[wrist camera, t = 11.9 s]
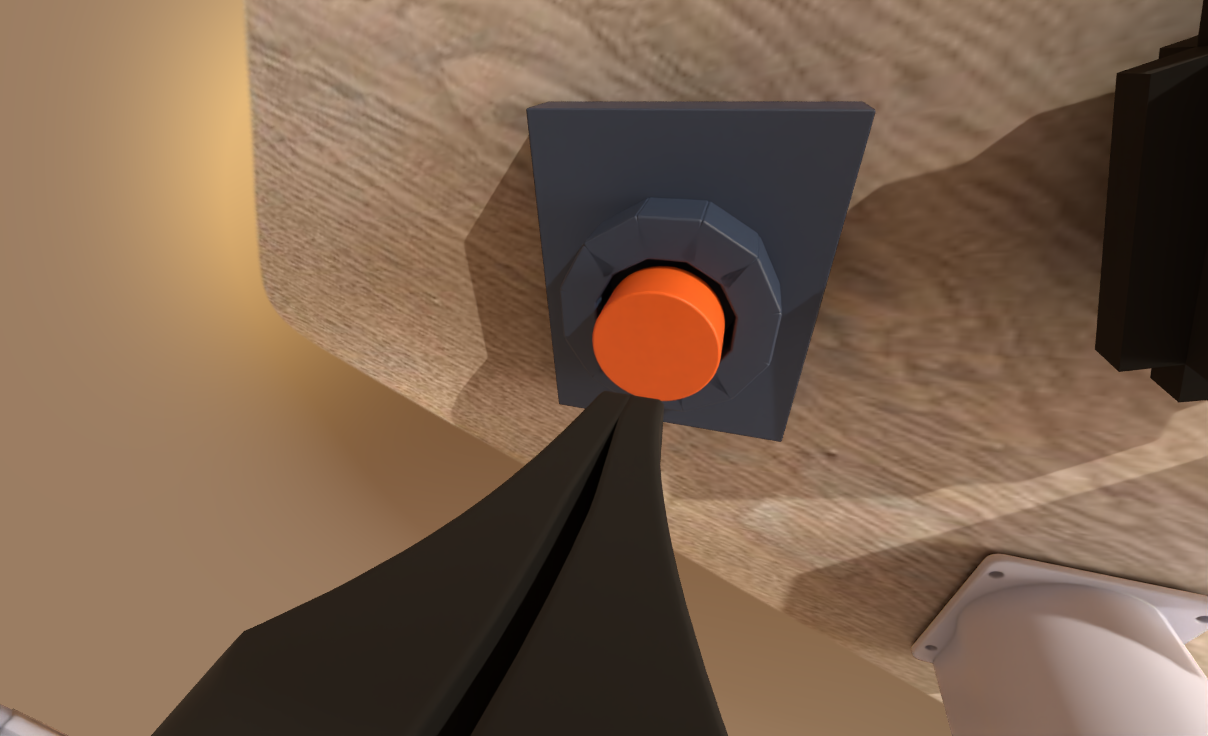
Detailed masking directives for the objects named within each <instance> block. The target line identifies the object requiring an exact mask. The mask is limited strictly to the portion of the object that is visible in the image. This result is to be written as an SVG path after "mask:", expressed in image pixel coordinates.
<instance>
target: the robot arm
mask: <svg viewBox="0 0 1208 736" xmlns="http://www.w3.org/2000/svg"><path fill="white" fill-rule="evenodd" d="M663 415H664V404H663V403H662V402H661V401H660V400H659V399H653V398H647V397H641V396H634V395H628V394H622V393H616V392H610V391H603V392H602V393H600V394H599V395H598V396H597V397H596V398H595V399H594V400H593V401H592V402H591V403H590V405H589V406H588V407H587V408H586V409H585V410H584V411H583V412H582V413H581V414H580V415H579V416H578V417H577V418H576V419H575V420H574V421H573V422H572V423H571V424H570V425H569V426H568V427H567V428H566V429H565V430H564V431H563V432H562V433H561V434H559V435H558V436H557V437H556V438H555V439H554V440H553V441H552V442H551V443H550V444H549V445H548V446H547V447H546V448H544V449H543V450H542V451H541V452H540V453H539V454H538V455H537V456H536V457H534V458H533V459H532V460H531V461H530V462H528V463H527V464H526V465H525V466H524V467H523V468H521V469H520V470H519V471H518V472H517V473H515V474H514V475H513V476H512V477H511V478H509V479H508V480H507V481H506V482H504V483H503V484H502V485H501V486H499V487H498V488H497V489H495V490H494V491H493V492H492V493H491V494H489V495H488V496H486V497H485V498H484V499H482V500H481V501H479V502H478V503H477V504H475V505H474V506H473V507H471V508H470V509H468V510H467V511H465V512H464V513H463V514H461V515H460V516H458V517H457V518H455V519H454V520H452V521H451V522H449V523H447V524H446V525H444V526H443V527H441V528H440V529H438V530H437V531H435V532H434V533H432V534H431V535H429V536H428V537H426V538H424V539H423V540H421V541H419V542H418V543H416V544H414V545H413V546H411V547H409V548H408V549H406V550H404V551H403V552H401V553H399V554H397V555H396V556H394V557H392V558H390V559H389V560H387V561H385V562H383V563H381V564H379V565H378V566H376V567H374V568H372V569H370V570H368V571H367V572H365V573H363V574H361V575H359V576H358V577H356V578H354V579H352V580H350V581H348V582H347V583H345V584H343V585H341V586H339V587H337V588H335V589H333V590H331V591H329V592H327V593H325V594H323V595H321V596H319V597H317V598H314V599H312V600H311V601H308V602H306V603H304V604H302V605H300V606H297V607H295V608H293V609H291V610H289V611H287V612H285V613H283V614H281V615H279V616H276V617H274V618H272V619H270V620H268V621H266V622H264V623H262V624H259V625H257V626H255V627H253V628H250V629H248V630H246V631H244V632H243V633H242V634H241V635H240V636H239V637H238V638H237V639H236V640H235V641H234V642H233V644H232V645H231V646H230V647H229V648H228V649H227V650H226V651H225V652H224V653H223V655H222V656H221V657H220V658H219V659H218V660H217V661H216V663H215V664H214V665H213V666H212V667H211V668H210V669H209V670H208V672H207V673H206V674H205V675H204V676H203V677H202V678H201V680H200V681H199V682H198V683H197V684H196V685H195V686H194V687H193V689H192V690H191V691H190V692H189V693H188V694H187V695H186V696H185V698H184V699H183V700H182V701H181V702H180V703H179V705H178V706H177V707H176V708H175V709H174V710H173V711H172V713H170V715H169V716H168V717H167V718H166V719H165V720H164V721H163V723H162V724H161V725H160V726H159V727H158V728H157V729H156V731H155V732H154V733H153V734H152V735H151V736H728V734H727V731H726V728H725V725H724V723H723V720H722V717H721V714H720V711H719V708H718V706H717V702H716V699H715V696H714V693H713V690H712V687H711V684H710V681H709V678H708V675H707V672H706V669H705V666H704V663H703V659H702V656H701V653H700V649H699V646H698V642H697V639H696V636H695V633H694V629H693V626H692V623H691V619H690V616H689V612H688V609H687V606H686V602H685V598H684V594H683V590H682V586H681V582H680V578H679V574H678V570H677V566H676V561H675V557H674V553H673V548H672V543H671V538H670V533H669V528H668V523H667V517H666V510H665V504H664V497H663V490H662V481H661V470H660V460H661V445H662V430H663ZM1207 630H1208V596H1206V595H1202V594H1197V593H1192V592H1187V591H1182V590H1177V589H1172V588H1167V587H1162V586H1157V585H1153V584H1148V583H1143V582H1138V581H1133V580H1128V579H1123V578H1118V577H1113V576H1108V575H1104V574H1099V573H1094V572H1089V571H1084V570H1079V569H1074V568H1069V567H1064V566H1059V565H1055V564H1050V563H1045V562H1040V561H1035V560H1030V559H1025V558H1020V557H1015V556H1010V555H1005V554H991V555H988V556H987V557H986V558H985V559H984V560H983V561H982V562H981V564H980V565H979V566H978V567H977V568H976V570H975V571H974V572H973V573H972V574H971V576H970V577H969V578H968V579H967V580H966V582H965V583H964V584H963V585H962V586H961V588H960V589H959V590H958V591H957V592H956V594H955V595H954V596H953V597H952V598H951V600H950V601H949V602H948V603H947V604H946V606H945V607H944V608H943V609H942V611H941V612H940V613H939V614H938V615H937V617H936V618H935V619H934V620H933V621H932V623H931V624H930V625H929V626H928V627H927V629H926V630H925V631H924V632H923V633H922V635H921V636H920V637H919V638H918V639H917V641H916V642H915V643H914V644H913V645H912V647H911V651H912V655H913V656H914V657H915V658H917V659H919V660H922V661H926V662H930V663H933V666H934V670H935V673H936V677H937V681H938V685H939V688H940V692H941V696H942V700H943V703H944V707H945V711H946V714H947V718H948V722H949V726H950V729H951V733H952V736H1208V679H1207V677H1206V676H1205V674H1204V673H1203V671H1202V670H1201V669H1200V667H1199V666H1198V664H1197V663H1196V661H1195V660H1194V658H1193V657H1192V655H1191V654H1190V653H1189V651H1188V650H1187V648H1186V647H1185V644H1186V643H1188V642H1190V641H1191V640H1193V639H1194V638H1196V637H1198V636H1199V635H1201V634H1202V633H1204V632H1206V631H1207ZM0 736H68V735H66V734H64V733H62V732H60V731H58V730H56V729H54V728H52V727H50V726H48V725H46V724H44V723H42V722H40V721H38V720H36V719H34V718H32V717H30V716H28V715H25V714H23V713H21V712H19V711H17V710H15V709H9V708H7V707H5V706H3V705H1V704H0Z"/></svg>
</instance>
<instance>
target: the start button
mask: <svg viewBox="0 0 1208 736" xmlns="http://www.w3.org/2000/svg"><path fill="white" fill-rule="evenodd" d="M724 329H725V315H724V311H723V307H722V304H721V302H720V300H719V298H718V296H717V295H716V293H715V292H714V291H713V289H712V288H711V287H710V286H709V285H708V284H707V283H706V282H705V281H703V280H702V279H701V278H699V277H698V276H696V275H695V274H693V273H691V272H688V271H686V270H684V269H680V268H676V267H670V266H653V267H648V268H643V269H641V270H638V271H635V272H634V273H632V274H630V275H628V276H627V277H626V278H624V279H623V280H622V281H621V282H620V283H619V284H618V285H617V287H616V288H615V289H614V291H613V293H612V294H611V296H610V298H609V299H608V301H607V303H606V304H605V306H604V308H603V309H602V311H601V313H600V315H599V316H598V318H597V320H596V323H595V325H594V329H593V334H592V343H593V350H594V354H595V357H596V359H597V362H598V364H599V366H600V367H601V369H602V370H603V372H604V373H605V374H606V376H607V377H608V378H609V379H610V380H611V381H612V382H614V383H615V384H616V385H617V386H619V387H620V388H621V389H623V390H625V391H627V392H628V393H630V394H633V395H635V396H641V397H647V398H653V399H659V400H660V401H672V400H678V399H682V398H685V397H688V396H690V395H693V394H695V393H696V392H698V391H699V390H701V389H702V388H703V387H704V386H706V385H707V384H708V383H709V382H710V380H711V379H712V378H713V376H714V375H715V373H716V371H717V369H718V366H719V363H720V359H721V351H722V344H723V337H724Z"/></svg>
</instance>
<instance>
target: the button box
mask: <svg viewBox="0 0 1208 736" xmlns="http://www.w3.org/2000/svg"><path fill="white" fill-rule="evenodd" d="M526 111H527V120H528V129H529V138H530V147H531V156H532V165H533V174H534V183H535V192H536V201H537V210H538V219H539V228H540V237H541V246H542V255H543V264H544V273H545V282H546V291H547V300H548V309H549V318H550V327H551V336H552V345H553V354H554V363H555V372H556V381H557V390H558V399H559V404H562V405H568V406H573V407H579V408H585V409H586V408H587V407H588V406H589V405H590V403H591V402H592V401H593V400H594V399H595V398H596V397H597V396H598V395H599V394H600V393H602V392H603V391H610V392H616V393H622V394H628V395H633V394H630V393H628V392H627V391H625V390H623V389H621V388H620V387H619V386H617V385H616V384H615V383H614V382H612V381H611V380H610V379H609V378H608V377H607V376H606V374H605V373H604V372H603V370H602V369H601V367H600V366H599V364H598V362H597V359H596V357H595V354H594V350H593V343H592V334H593V329H594V325H595V323H596V320H597V318H598V316H599V315H600V313H601V311H602V309H603V308H604V306H605V304H606V303H607V301H608V299H609V298H610V296H611V294H612V293H613V291H614V289H615V288H616V287H617V285H618V284H619V283H620V282H621V281H622V280H623V279H624V278H626V277H627V276H628V275H630V274H632V273H634V272H635V271H638V270H641V269H643V268H648V267H653V266H670V267H676V268H680V269H684V270H686V271H688V272H691V273H693V274H695V275H696V276H698V277H699V278H701V279H702V280H703V281H705V282H706V283H707V284H708V285H709V286H710V287H711V288H712V289H713V291H714V292H715V293H716V295H717V296H718V298H719V300H720V302H721V304H722V307H723V311H724V315H725V329H724V337H723V344H722V351H721V359H720V363H719V366H718V369H717V371H716V373H715V375H714V376H713V378H712V379H711V380H710V382H709V383H708V384H707V385H706V386H704V387H703V388H702V389H701V390H699V391H698V392H696V393H695V394H693V395H690V396H688V397H685V398H682V399H678V400H672V401H661V402H662V403H663V404H664V415H663V422H667V423H673V424H679V425H685V426H691V427H697V428H703V429H708V430H714V431H720V432H726V433H732V434H738V435H744V436H749V437H755V438H761V439H767V440H773V441H779V442H781V441H782V438H783V435H784V431H785V428H786V424H787V421H788V417H789V414H790V410H791V407H792V403H793V400H794V396H795V393H796V389H797V386H798V382H799V379H800V375H801V372H802V368H803V365H804V361H805V358H806V354H807V351H808V347H809V343H810V340H811V336H812V333H813V329H814V326H815V322H816V319H817V315H818V312H819V308H820V305H821V301H822V298H823V294H824V291H825V287H826V284H827V280H828V277H829V273H830V270H831V266H832V263H833V259H834V256H835V252H836V249H837V245H838V242H839V238H840V235H841V231H842V228H843V224H844V221H845V217H846V214H847V210H848V207H849V203H850V200H851V196H852V193H853V189H854V186H855V182H856V179H857V175H858V172H859V168H860V164H861V161H862V157H863V154H864V150H865V147H866V143H867V140H868V136H869V133H870V129H871V126H872V122H873V119H874V115H875V109H873V108H872V107H870V106H869V105H867V104H866V103H864V102H546V103H542V104H539V105H536V106H533V107H529V108H527V110H526ZM634 396H635V395H634Z"/></svg>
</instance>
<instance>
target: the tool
mask: <svg viewBox="0 0 1208 736" xmlns="http://www.w3.org/2000/svg"><path fill="white" fill-rule="evenodd" d="M1095 350H1096V351H1097V352H1098V353H1099V354H1100V355H1102V356H1103V357H1104V358H1105V359H1106V360H1107V361H1108V362H1109V363H1110V364H1111V365H1112V366H1113V367H1114V368H1116V369H1117V370H1118V371H1119V372H1122V371H1131V370H1140V369H1148V368H1152V369H1151V376H1150V378H1151V379H1152V380H1153V381H1155V382H1156V383H1157V384H1158V385H1159V386H1160V387H1162V388H1163V389H1164V390H1165V391H1166V392H1167V393H1168V394H1170V395H1171V396H1172V397H1173V398H1174V399H1175V400H1177V401H1178V402H1189V401H1201V400H1208V0H1203V7H1202V14H1201V21H1200V28H1199V35H1197V36H1194V37H1192V38H1189V39H1186V40H1183V41H1180V42H1177V43H1174V44H1171V45H1168V46H1165V47H1162V48H1160V52H1159V59H1158V60H1155V61H1152V62H1149V63H1146V64H1143V65H1140V66H1137V67H1134V68H1131V69H1128V70H1125V71H1122V72H1119V73H1117V77H1116V89H1115V102H1114V115H1113V128H1112V140H1111V153H1110V166H1109V178H1108V191H1107V204H1106V217H1105V229H1104V242H1103V255H1102V267H1101V280H1100V293H1099V306H1098V318H1097V331H1096V344H1095Z"/></svg>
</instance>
